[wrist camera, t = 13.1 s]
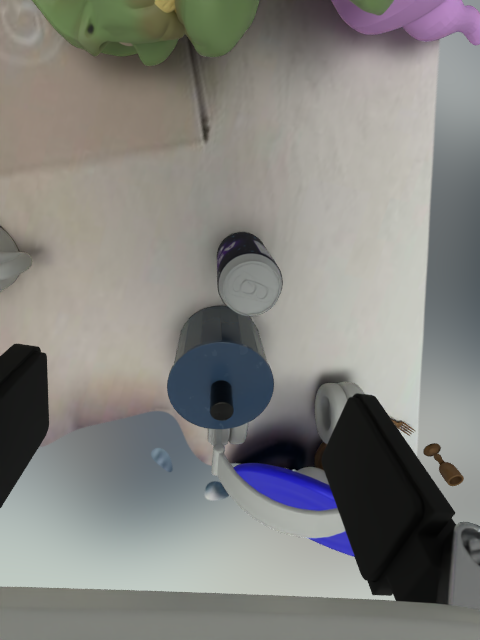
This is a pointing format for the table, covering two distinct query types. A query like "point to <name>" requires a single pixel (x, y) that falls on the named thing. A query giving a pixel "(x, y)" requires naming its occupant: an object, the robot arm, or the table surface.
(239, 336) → the pot
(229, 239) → the beverage can
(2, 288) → the mug
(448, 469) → the place setting
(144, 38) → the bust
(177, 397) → the pot lid
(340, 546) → the toy spaceship
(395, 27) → the teapot
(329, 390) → the headphones
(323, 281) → the table surface
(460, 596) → the robot arm
